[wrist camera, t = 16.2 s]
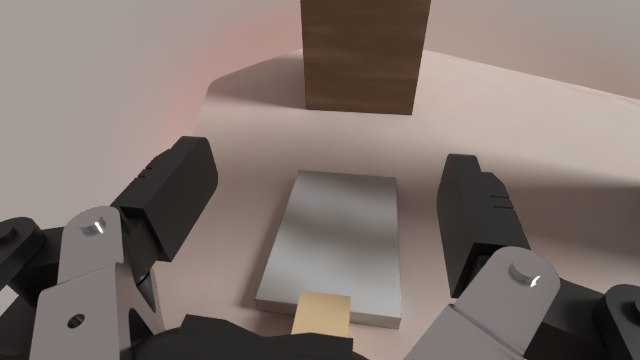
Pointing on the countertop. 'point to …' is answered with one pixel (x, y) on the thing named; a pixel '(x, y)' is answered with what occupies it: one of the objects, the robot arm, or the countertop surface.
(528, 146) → the countertop surface
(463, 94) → the countertop surface
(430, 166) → the countertop surface
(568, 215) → the countertop surface
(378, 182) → the rectangular straight-edged part
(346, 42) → the plinth
